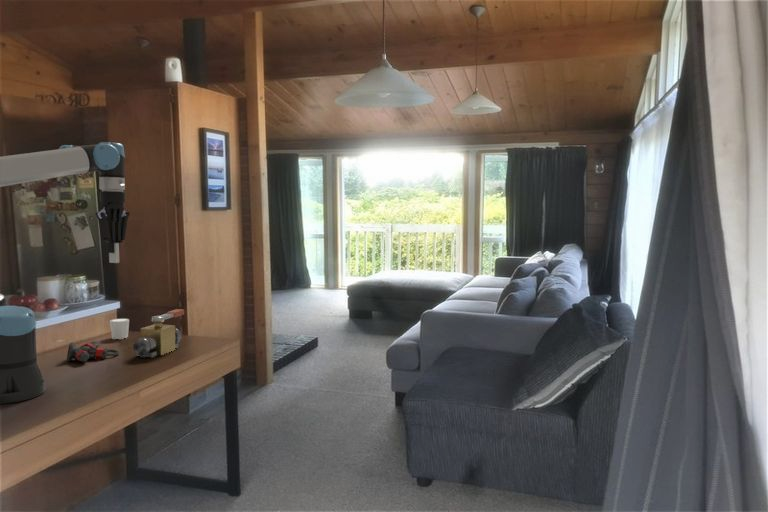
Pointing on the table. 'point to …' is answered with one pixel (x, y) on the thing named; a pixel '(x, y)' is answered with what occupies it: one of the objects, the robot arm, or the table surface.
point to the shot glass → (119, 328)
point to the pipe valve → (157, 340)
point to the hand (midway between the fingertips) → (114, 262)
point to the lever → (168, 315)
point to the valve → (88, 352)
